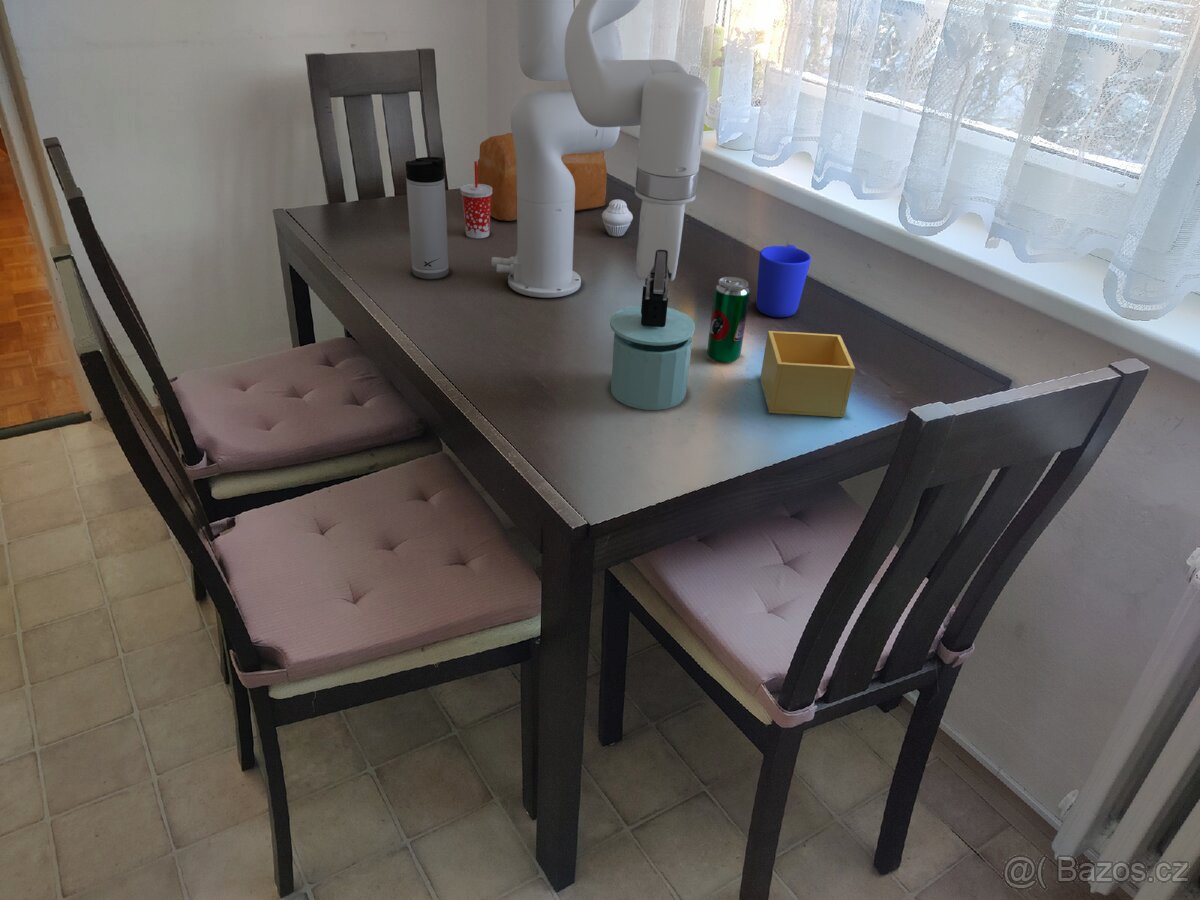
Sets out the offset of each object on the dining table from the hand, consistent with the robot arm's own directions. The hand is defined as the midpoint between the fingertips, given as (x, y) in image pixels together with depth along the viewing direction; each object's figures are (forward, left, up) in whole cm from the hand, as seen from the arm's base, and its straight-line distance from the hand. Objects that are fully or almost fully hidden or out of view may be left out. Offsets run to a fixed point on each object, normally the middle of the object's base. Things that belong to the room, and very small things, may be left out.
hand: (652, 319), depth 119 cm
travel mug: (-37, +38, -11) cm, 54 cm away
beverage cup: (-32, +59, -11) cm, 68 cm away
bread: (-21, +78, -11) cm, 81 cm away
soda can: (+12, +12, -11) cm, 20 cm away
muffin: (-5, +64, -11) cm, 65 cm away
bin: (+22, +1, -11) cm, 24 cm away
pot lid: (0, 0, -1) cm, 1 cm away
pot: (0, 0, -11) cm, 11 cm away
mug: (+23, +32, -11) cm, 40 cm away
